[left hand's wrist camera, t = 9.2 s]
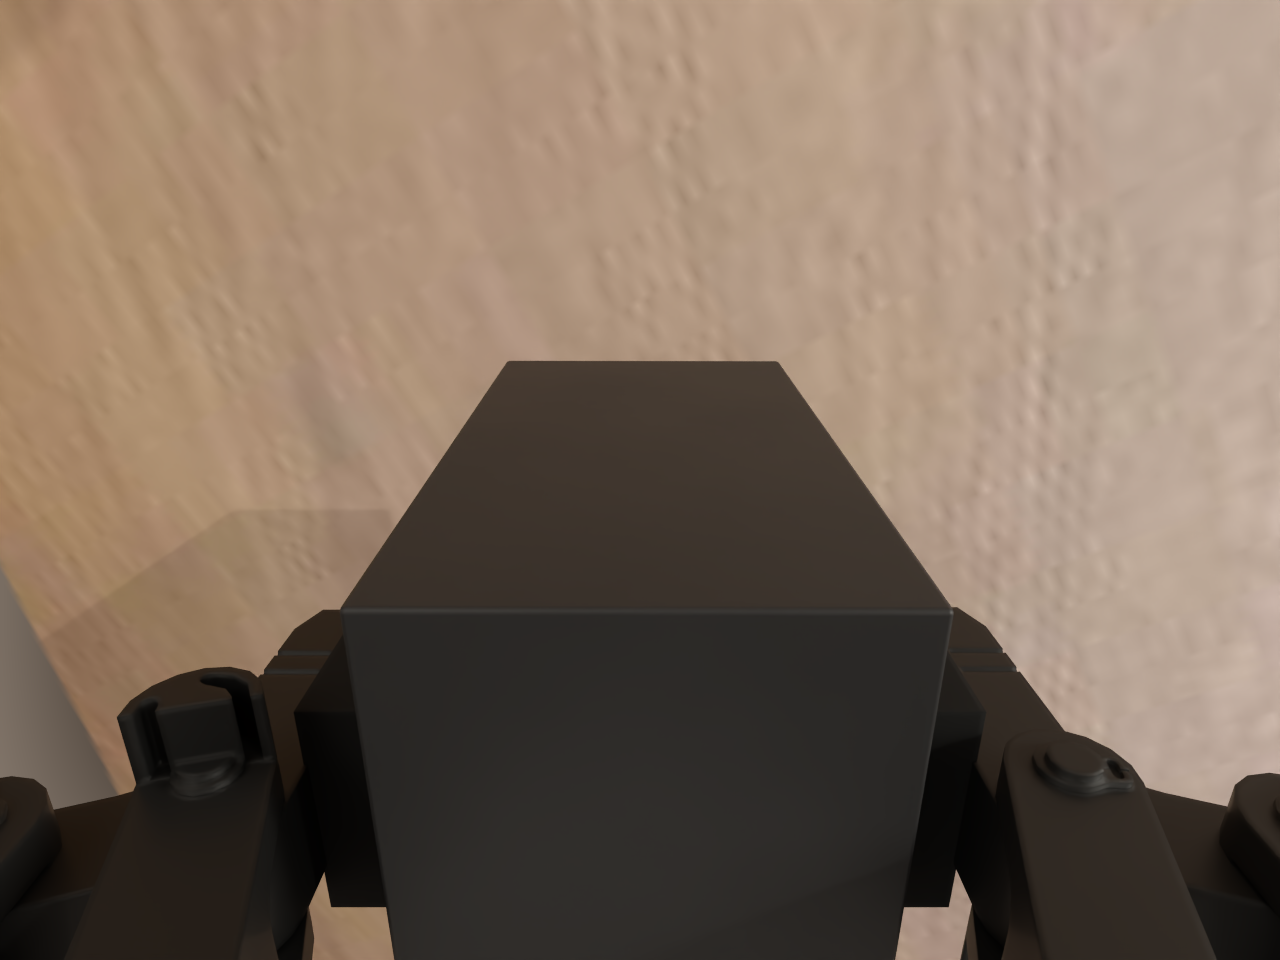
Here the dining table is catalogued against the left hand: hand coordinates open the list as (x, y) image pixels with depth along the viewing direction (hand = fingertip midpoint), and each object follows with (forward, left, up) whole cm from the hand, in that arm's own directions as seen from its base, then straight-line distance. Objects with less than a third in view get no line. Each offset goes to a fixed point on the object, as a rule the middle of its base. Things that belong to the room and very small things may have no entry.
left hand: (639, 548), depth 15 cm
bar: (+10, 0, -1) cm, 10 cm away
